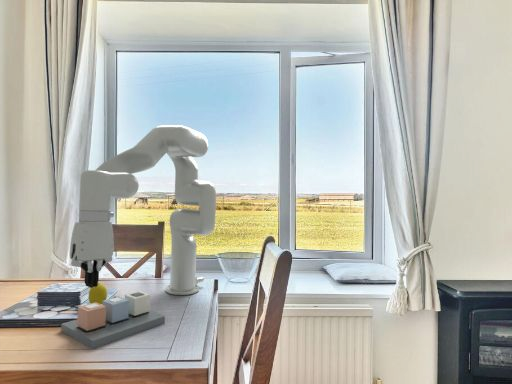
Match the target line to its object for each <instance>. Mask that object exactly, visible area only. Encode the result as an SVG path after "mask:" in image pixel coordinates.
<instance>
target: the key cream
mask: <svg viewBox="0 0 512 384" xmlns="http://www.w3.org/2000/svg"><path fill="white" fill-rule="evenodd" d="M124 299H127V300H129V314H131V315H134V317H137V316H140V315H139V314H142V313H145V312H148V311H149V310H150V294H148V293H146V292H143V291H135V292H131V293H127V294H125V295H124ZM136 315H137V316H136Z"/></svg>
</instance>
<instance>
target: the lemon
mask: <svg viewBox="0 0 512 384" xmlns="http://www.w3.org/2000/svg"><path fill="white" fill-rule="evenodd" d="M87 298H88V301H89V304H91V303H95V302H96V303H99V304H102V305H103V300H107V299H108V289H107V287H106V286H105V285H104V284H102V283H100V282H98V286H97V287H92V288H90V289H89V292H88V297H87Z"/></svg>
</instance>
